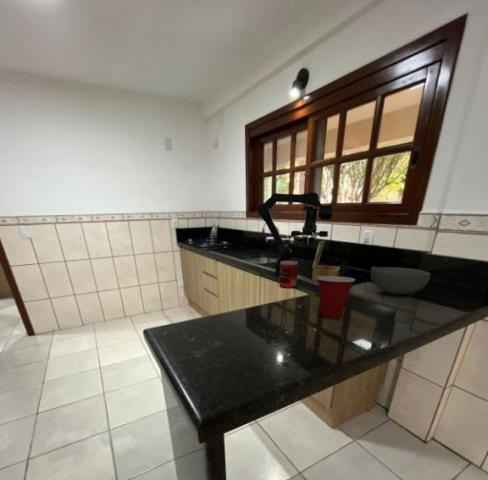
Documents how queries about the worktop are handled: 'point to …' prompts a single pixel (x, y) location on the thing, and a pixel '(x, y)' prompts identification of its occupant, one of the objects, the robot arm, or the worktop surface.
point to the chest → (325, 271)
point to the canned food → (288, 274)
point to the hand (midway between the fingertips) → (307, 250)
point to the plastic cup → (333, 294)
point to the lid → (318, 254)
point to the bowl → (399, 279)
